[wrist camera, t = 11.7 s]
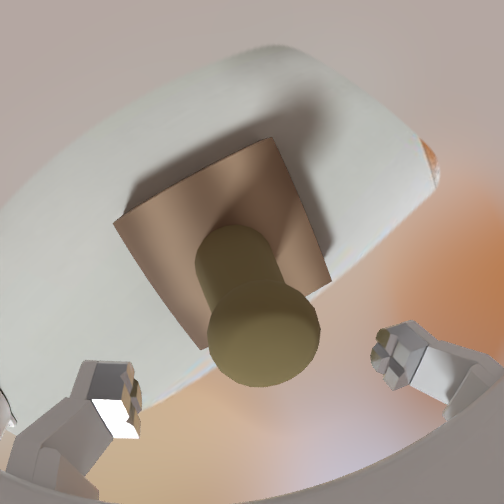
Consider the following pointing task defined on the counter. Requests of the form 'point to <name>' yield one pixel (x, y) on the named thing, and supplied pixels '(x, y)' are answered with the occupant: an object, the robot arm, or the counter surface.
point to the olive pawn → (253, 310)
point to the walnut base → (217, 216)
